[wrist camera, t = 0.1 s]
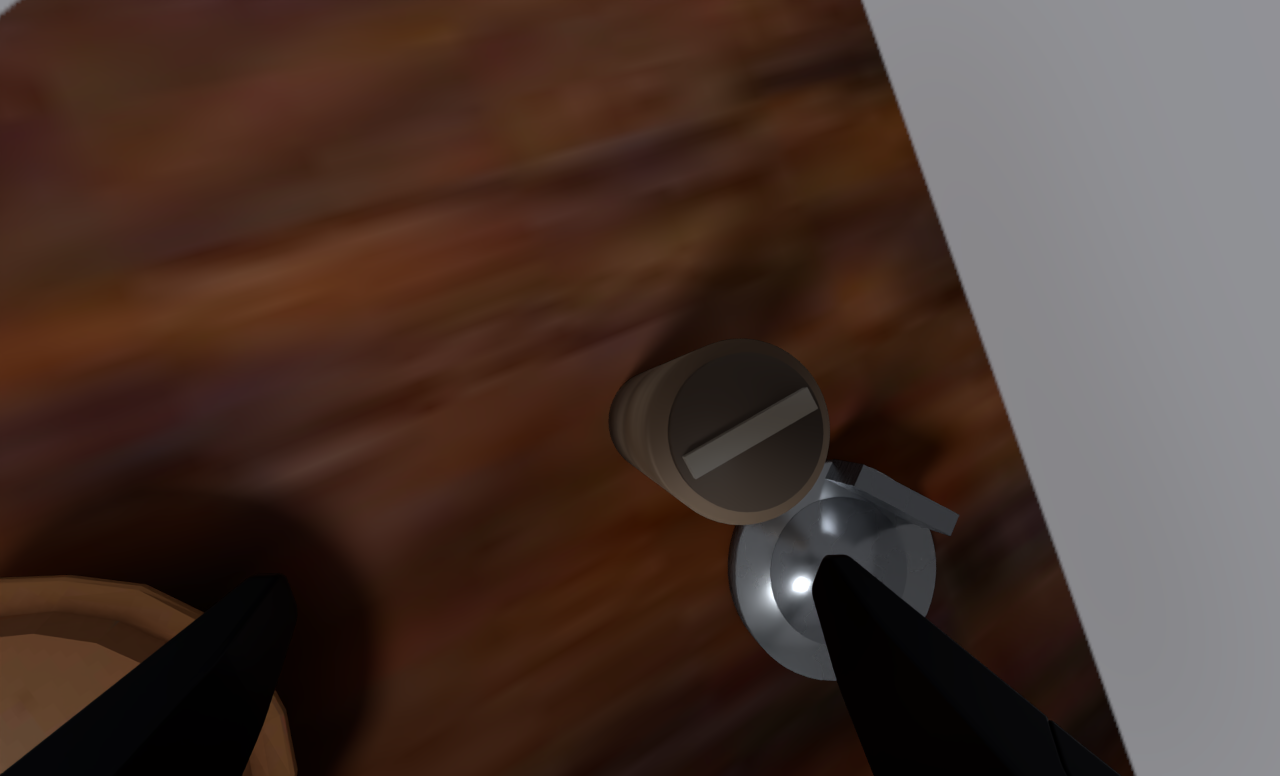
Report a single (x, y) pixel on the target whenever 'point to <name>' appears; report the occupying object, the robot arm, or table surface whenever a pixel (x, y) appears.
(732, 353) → the brown cylinder
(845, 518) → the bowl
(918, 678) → the robot arm
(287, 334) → the table surface
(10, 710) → the pie
